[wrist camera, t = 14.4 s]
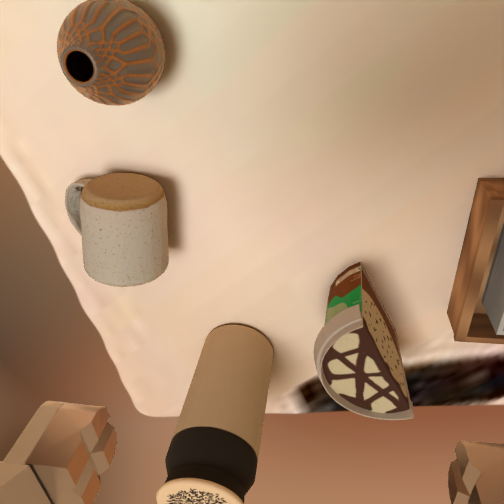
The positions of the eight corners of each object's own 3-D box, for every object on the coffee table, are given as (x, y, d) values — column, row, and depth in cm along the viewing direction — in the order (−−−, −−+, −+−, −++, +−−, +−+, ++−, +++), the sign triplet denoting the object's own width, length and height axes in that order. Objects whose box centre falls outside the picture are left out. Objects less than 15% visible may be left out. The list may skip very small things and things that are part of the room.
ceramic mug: (177, 173, 39) (145, 212, 33) (179, 249, 44) (151, 296, 37) (66, 158, 40) (15, 193, 34) (79, 233, 45) (36, 277, 39)
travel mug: (192, 334, 50) (133, 489, 35) (251, 313, 47) (214, 474, 32) (228, 379, 53) (188, 539, 38) (286, 362, 50) (266, 529, 35)
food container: (295, 271, 43) (286, 343, 35) (354, 249, 41) (360, 321, 32) (345, 354, 48) (348, 435, 40) (400, 339, 46) (416, 421, 38)
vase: (124, 106, 37) (73, 140, 29) (72, 23, 34) (1, 39, 26) (192, 67, 34) (154, 94, 27) (142, -25, 31) (85, -23, 24)
